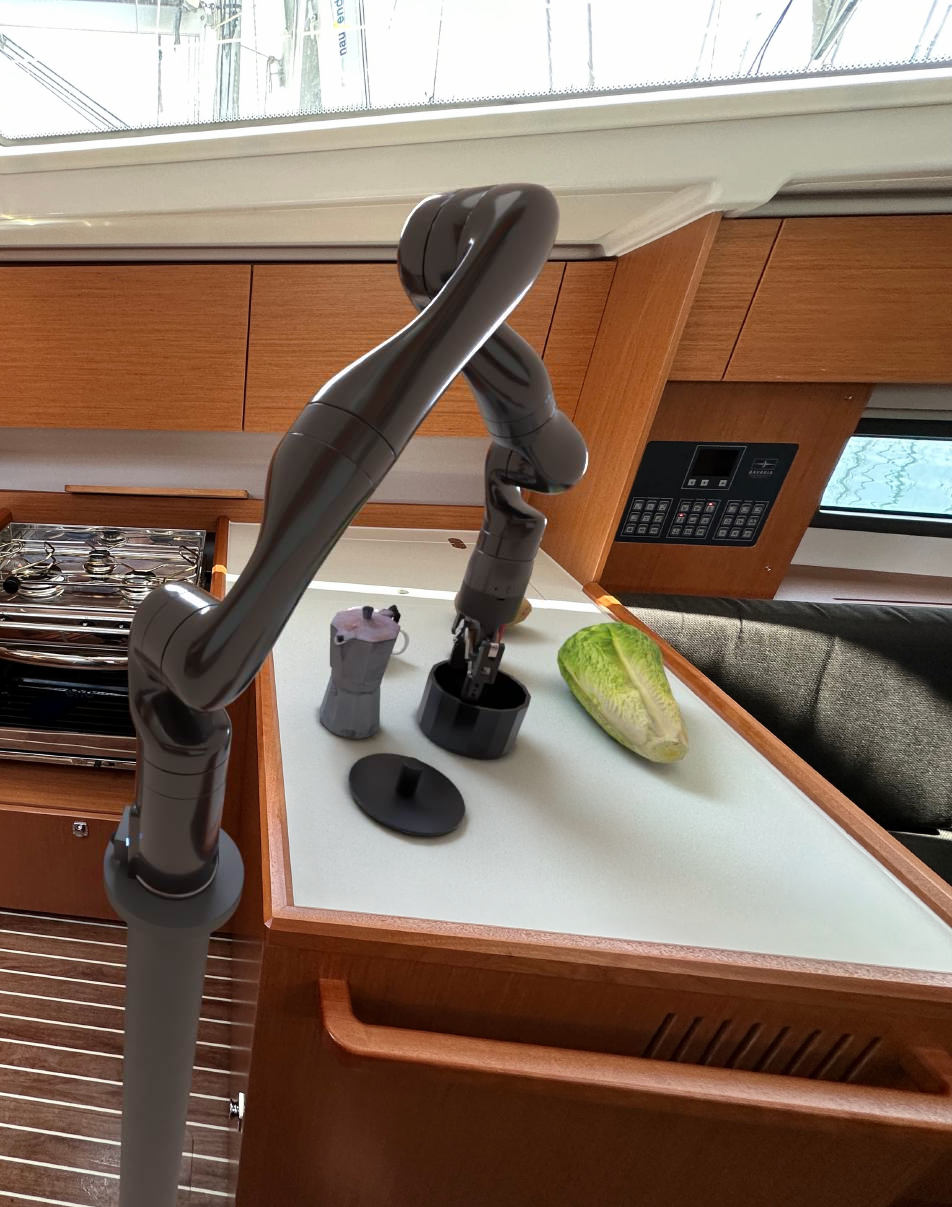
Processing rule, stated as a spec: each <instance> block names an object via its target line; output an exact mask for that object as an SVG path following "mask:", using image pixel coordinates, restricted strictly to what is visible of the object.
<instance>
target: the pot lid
mask: <svg viewBox="0 0 952 1207" xmlns="http://www.w3.org/2000/svg"><path fill="white" fill-rule="evenodd" d="M347 781H348V787H349V790H350V793H351V795H352V797H353V798H354V800H355V802H357V804H358V805H359V806H360V808H361V809H363V810H364V811H365V812H366V813H367V814H368V815H370V816H371V817H373V818H374V819H375V820H377V821H378V822H380V823H382V824H383V825H386V826H388V827H390V828H392V829H394V830H397V831H399V832H403V833H407V834H410V835H417V836H427V837H429V836H430V837H431V836H432V837H433V836H440V835H444V834H447V833H450V832H451V831H453V830H455V829H457V827H459V825H461V823H462V821H463V819H464V818H465V814H466V805H465V800H464V797H463V795H462V793H461V792H460V790H459V789H458V787H457V786H456V784H454V782H452V780H451V779H450V778H449V777H448V776H446V774H444V773H442V772H441V771H440V770H438V769H437V768H435V767H434V766H432V765H430V764H429V763H426V762H424V761H422V760H420V759H419V758H416V757H412V756H408V755H403V754H398V753H392V752H391V753H390V752H378V753H372V754H368V755H365V756H363V757H361V758H359V759H358V760H356V762H354V764H352V766H351V767H350V770H349V774H348V780H347Z"/></svg>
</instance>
